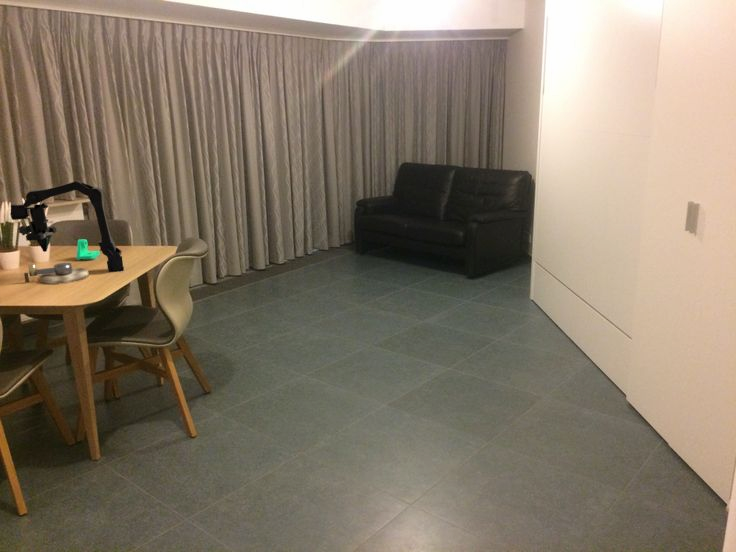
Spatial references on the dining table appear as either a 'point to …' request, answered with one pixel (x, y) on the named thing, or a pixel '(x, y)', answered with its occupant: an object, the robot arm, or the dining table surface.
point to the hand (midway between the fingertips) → (45, 251)
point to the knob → (51, 269)
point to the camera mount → (85, 251)
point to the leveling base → (61, 277)
